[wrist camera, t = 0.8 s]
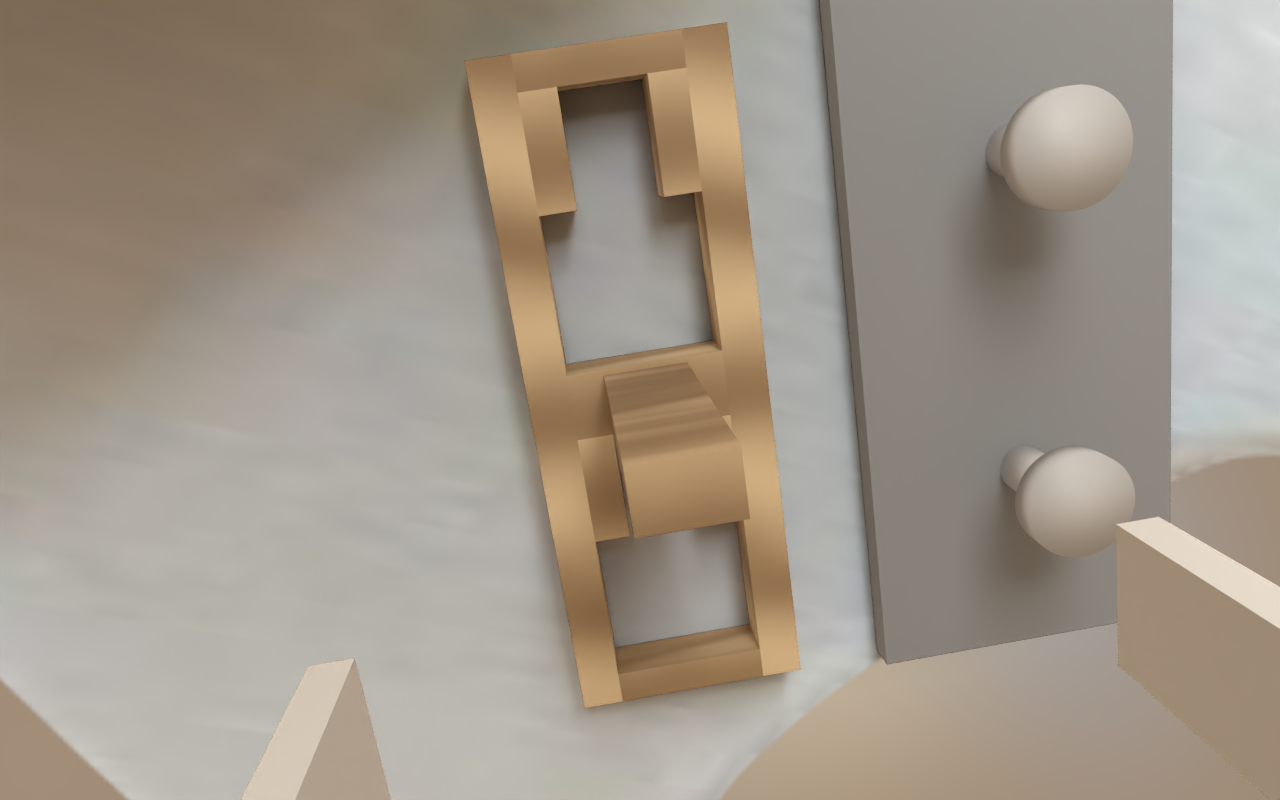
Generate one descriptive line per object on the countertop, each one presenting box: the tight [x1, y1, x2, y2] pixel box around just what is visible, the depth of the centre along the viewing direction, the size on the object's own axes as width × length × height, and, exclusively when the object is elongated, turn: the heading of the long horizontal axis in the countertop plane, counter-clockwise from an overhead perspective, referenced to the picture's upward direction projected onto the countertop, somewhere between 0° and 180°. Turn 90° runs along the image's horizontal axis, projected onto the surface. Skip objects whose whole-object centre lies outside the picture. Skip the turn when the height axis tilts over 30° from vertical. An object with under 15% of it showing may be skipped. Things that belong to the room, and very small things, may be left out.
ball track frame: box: [465, 22, 801, 708], centre depth 29 cm, size 24×9×12 cm, turn 8°
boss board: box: [819, 0, 1173, 664], centre depth 33 cm, size 27×12×5 cm, turn 8°
